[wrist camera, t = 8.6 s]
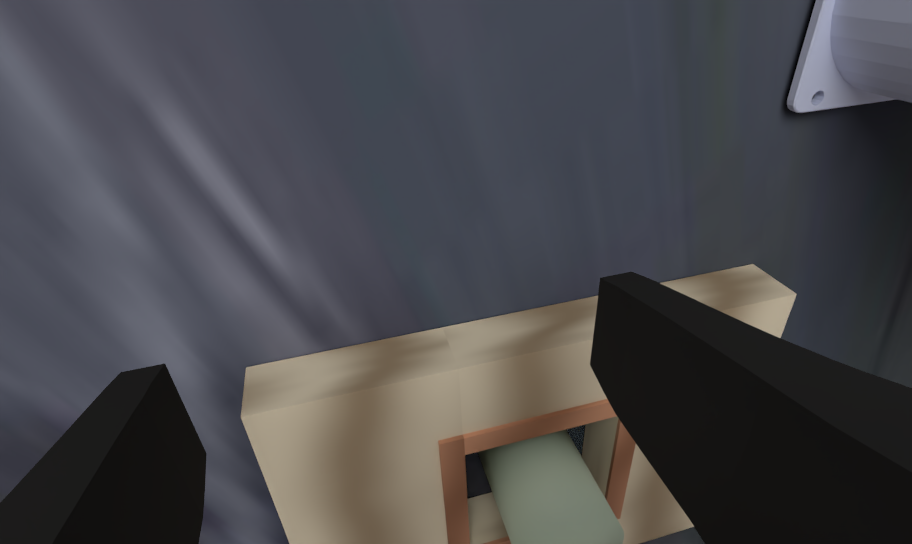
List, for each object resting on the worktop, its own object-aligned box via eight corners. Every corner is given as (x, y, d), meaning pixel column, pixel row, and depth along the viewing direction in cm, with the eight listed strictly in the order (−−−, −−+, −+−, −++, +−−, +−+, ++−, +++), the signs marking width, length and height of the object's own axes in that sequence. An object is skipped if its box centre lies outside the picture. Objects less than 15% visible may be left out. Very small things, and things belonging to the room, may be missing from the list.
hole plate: (752, 264, 24) (800, 296, 21) (685, 484, 32) (714, 524, 30) (245, 367, 19) (240, 421, 17) (324, 589, 28) (327, 644, 26)
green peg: (543, 391, 24) (607, 503, 20) (572, 439, 27) (635, 549, 22) (462, 437, 25) (505, 560, 20) (499, 481, 27) (545, 600, 22)
